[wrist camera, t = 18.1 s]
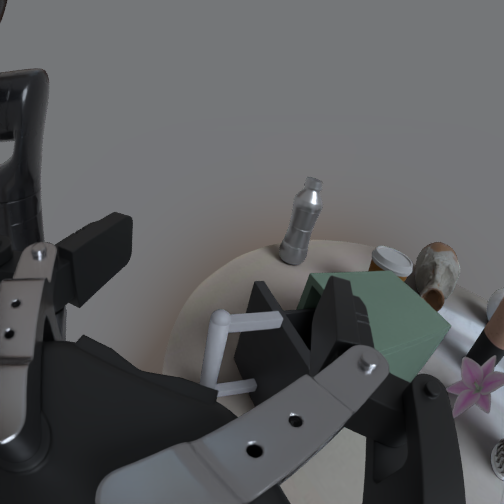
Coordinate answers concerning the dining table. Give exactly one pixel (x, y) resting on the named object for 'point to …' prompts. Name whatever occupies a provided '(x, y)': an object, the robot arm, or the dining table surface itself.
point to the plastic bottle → (302, 222)
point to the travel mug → (490, 339)
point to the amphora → (436, 273)
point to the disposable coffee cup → (391, 262)
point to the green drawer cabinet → (389, 317)
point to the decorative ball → (494, 302)
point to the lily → (475, 385)
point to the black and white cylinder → (498, 459)
